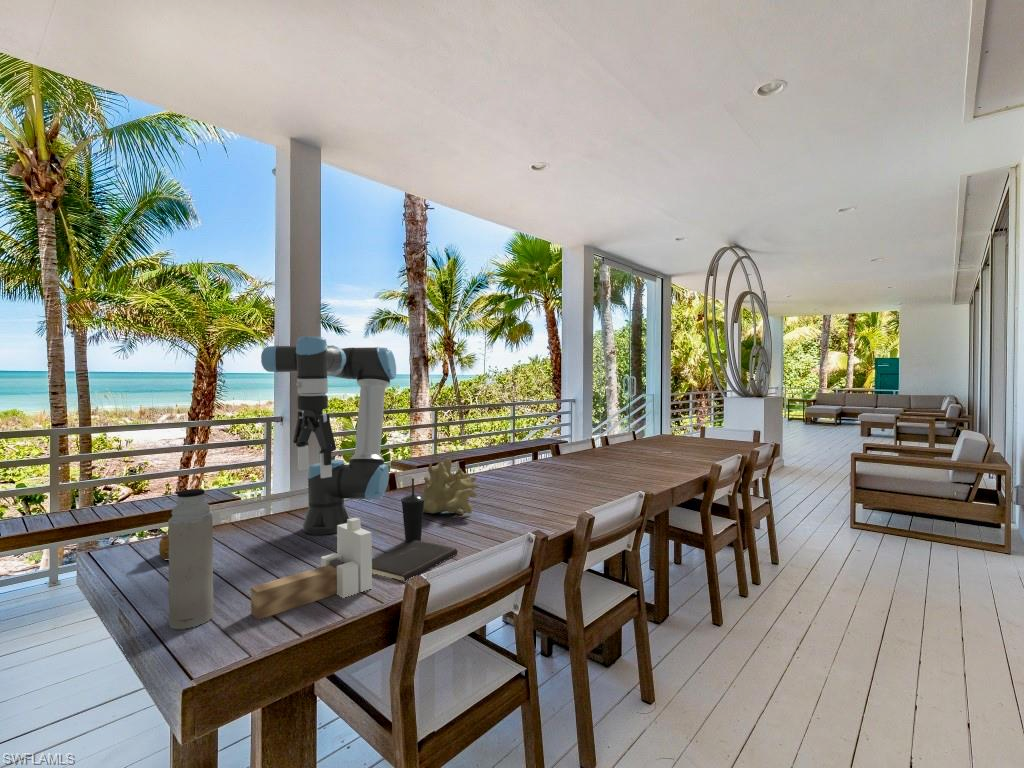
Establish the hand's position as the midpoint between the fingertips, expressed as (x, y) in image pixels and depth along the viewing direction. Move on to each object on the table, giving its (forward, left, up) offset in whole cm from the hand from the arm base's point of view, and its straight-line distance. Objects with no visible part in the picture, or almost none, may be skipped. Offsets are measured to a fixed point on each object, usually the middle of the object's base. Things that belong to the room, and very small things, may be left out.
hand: (314, 473), depth 133 cm
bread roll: (-41, -23, -27) cm, 54 cm away
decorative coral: (-19, +61, -27) cm, 69 cm away
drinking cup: (-2, +33, -27) cm, 42 cm away
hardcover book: (+13, +22, -27) cm, 37 cm away
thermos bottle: (+7, -30, -27) cm, 41 cm away
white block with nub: (+15, +1, -26) cm, 31 cm away
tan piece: (+15, -11, -26) cm, 33 cm away
